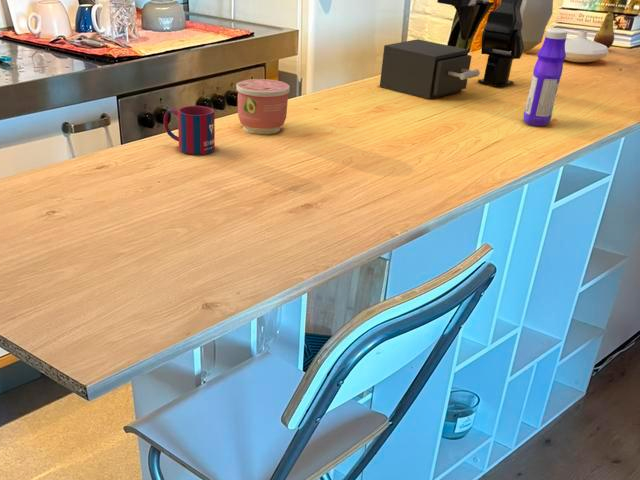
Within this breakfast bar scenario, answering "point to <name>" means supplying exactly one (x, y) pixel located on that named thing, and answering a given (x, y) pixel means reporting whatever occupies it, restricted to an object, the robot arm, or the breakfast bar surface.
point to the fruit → (606, 31)
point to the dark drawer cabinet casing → (414, 66)
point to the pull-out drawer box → (452, 74)
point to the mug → (194, 129)
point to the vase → (584, 49)
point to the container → (262, 105)
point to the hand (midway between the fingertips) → (466, 39)
